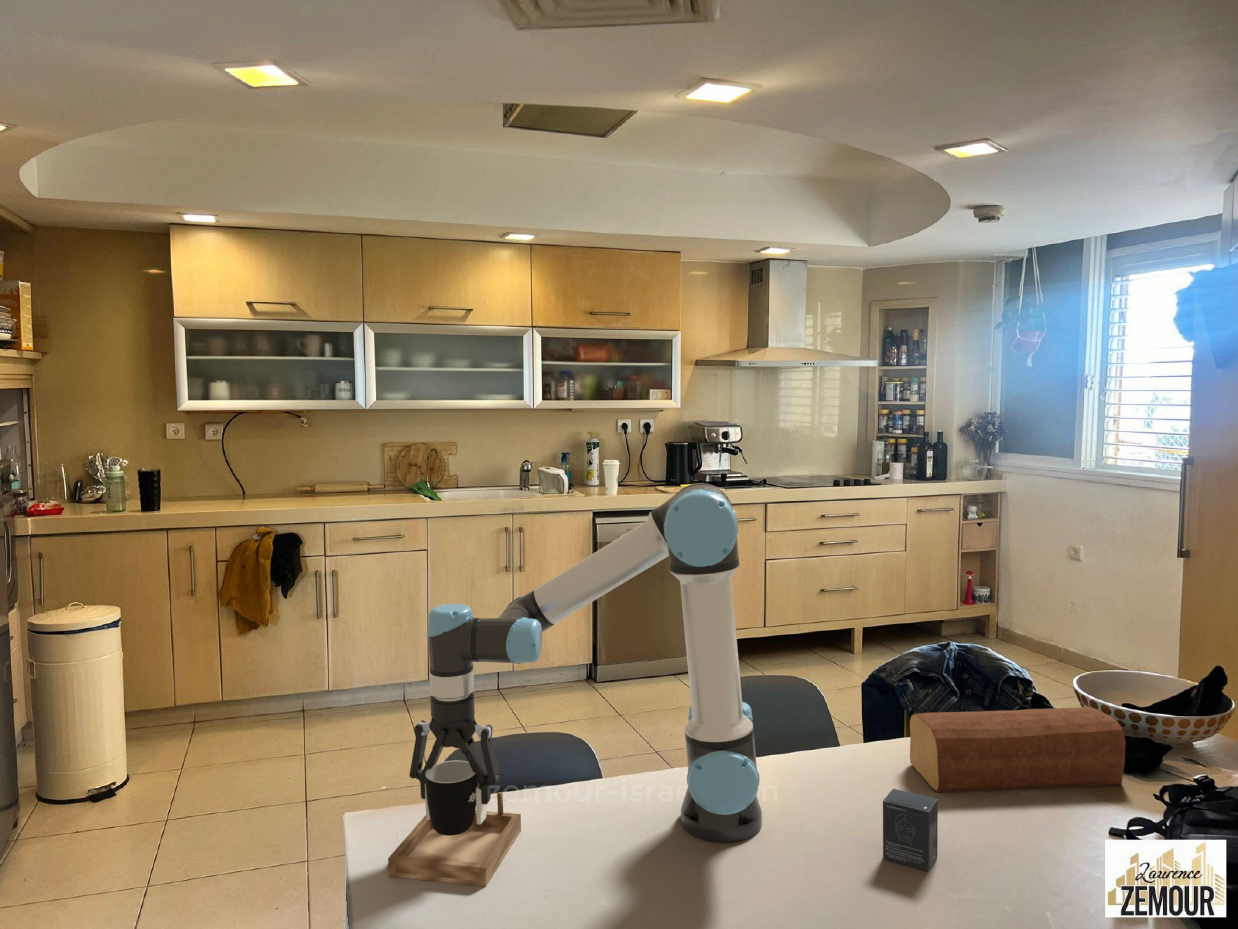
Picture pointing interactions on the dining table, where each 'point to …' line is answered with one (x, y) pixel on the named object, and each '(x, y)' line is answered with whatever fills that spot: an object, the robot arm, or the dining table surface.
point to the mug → (451, 796)
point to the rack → (457, 850)
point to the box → (910, 829)
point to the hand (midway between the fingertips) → (456, 818)
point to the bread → (1017, 749)
